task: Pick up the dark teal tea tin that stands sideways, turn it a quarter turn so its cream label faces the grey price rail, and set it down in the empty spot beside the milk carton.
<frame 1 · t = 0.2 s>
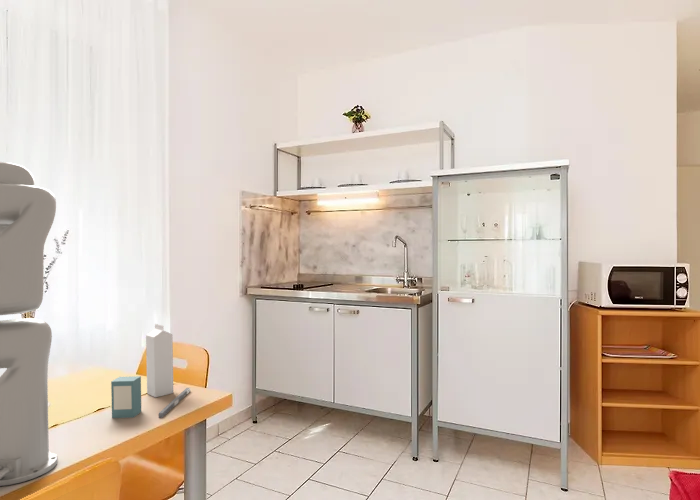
hand: (4, 304, 126), 31 cm above the table, tool pointing down, fingers open, 9 cm apart
price rail: (175, 403, 131), on the table
milk: (160, 393, 141), on the table
tea tin: (126, 414, 123), on the table
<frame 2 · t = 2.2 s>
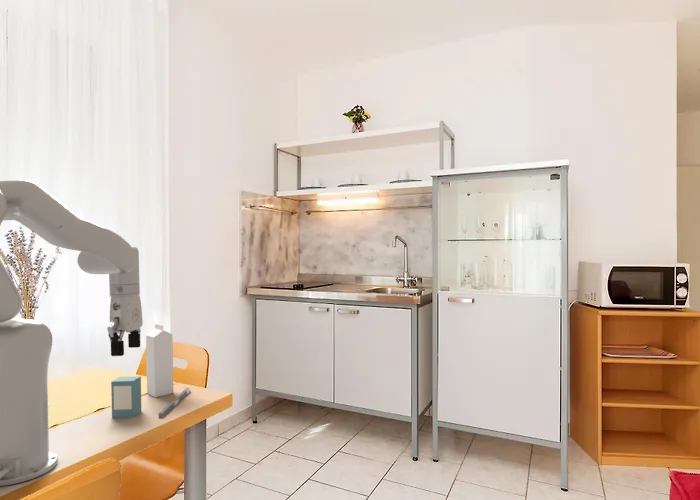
hand: (126, 351, 123), 18 cm above the table, tool pointing down, fingers open, 9 cm apart
nothing on the table moved.
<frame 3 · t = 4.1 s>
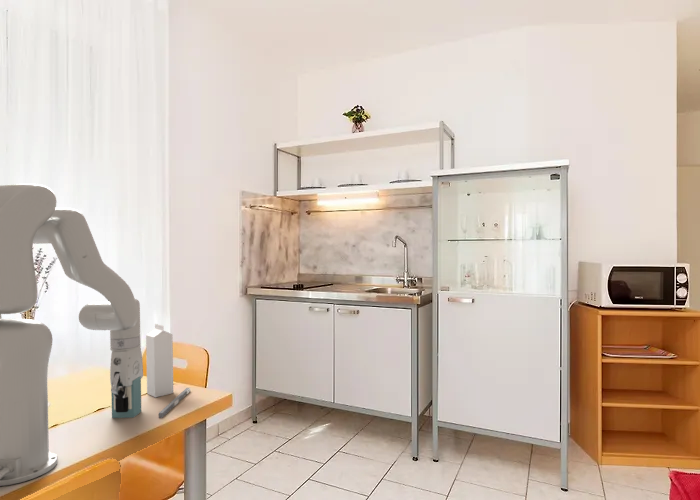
hand: (126, 407, 123), 2 cm above the table, tool pointing down, fingers closed on tea tin, 4 cm apart
tea tin: (126, 414, 123), on the table, touching gripper
everything else where it was.
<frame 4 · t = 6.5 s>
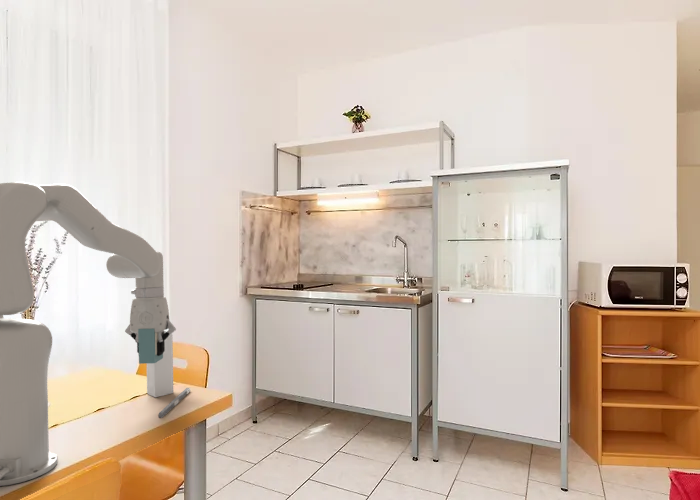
hand: (151, 354, 130), 15 cm above the table, tool pointing down, fingers closed on tea tin, 4 cm apart
tea tin: (151, 360, 130), point 13 cm above the table, touching gripper
everything else where it was.
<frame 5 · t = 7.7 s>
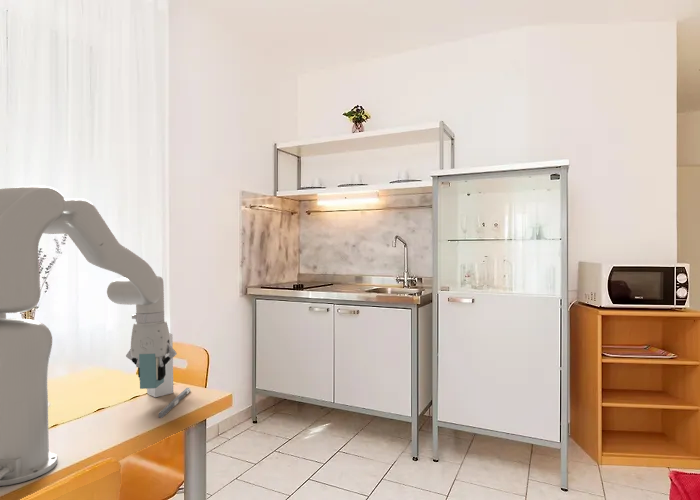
hand: (152, 378, 130), 8 cm above the table, tool pointing down, fingers closed on tea tin, 4 cm apart
tea tin: (152, 385, 130), point 6 cm above the table, touching gripper
everything else where it was.
when the fingers open (4 cm above the table, at t = 8.8 s): tea tin drops 2 cm, on the table.
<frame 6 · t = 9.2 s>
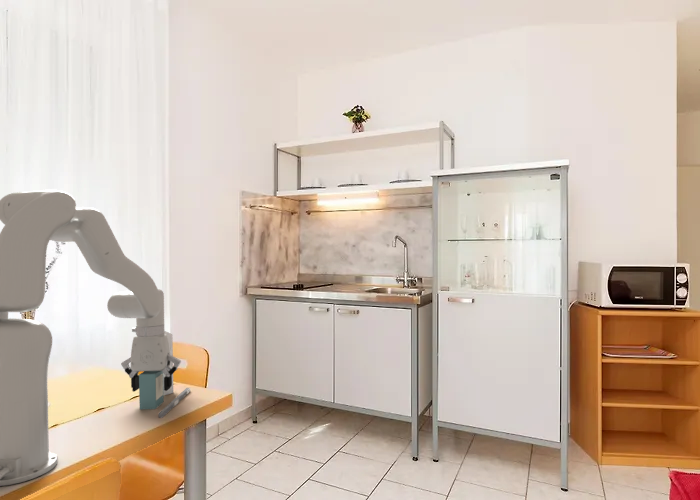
hand: (151, 389, 130), 5 cm above the table, tool pointing down, fingers open, 8 cm apart
tea tin: (151, 405, 130), on the table
everything else where it was.
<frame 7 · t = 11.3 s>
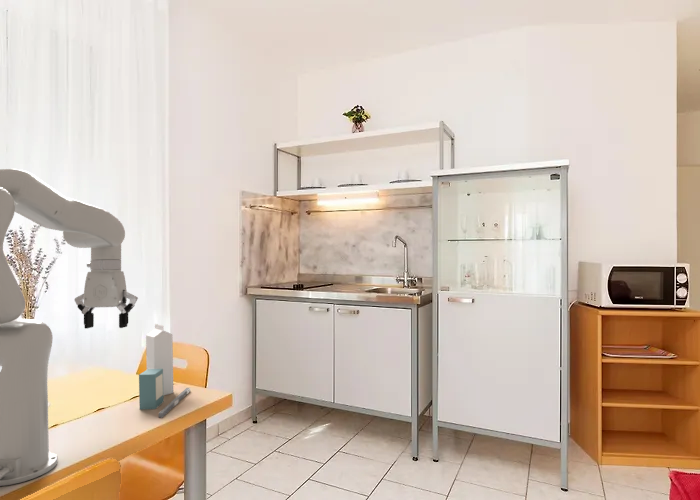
hand: (106, 327, 124), 24 cm above the table, tool pointing down, fingers open, 9 cm apart
nothing on the table moved.
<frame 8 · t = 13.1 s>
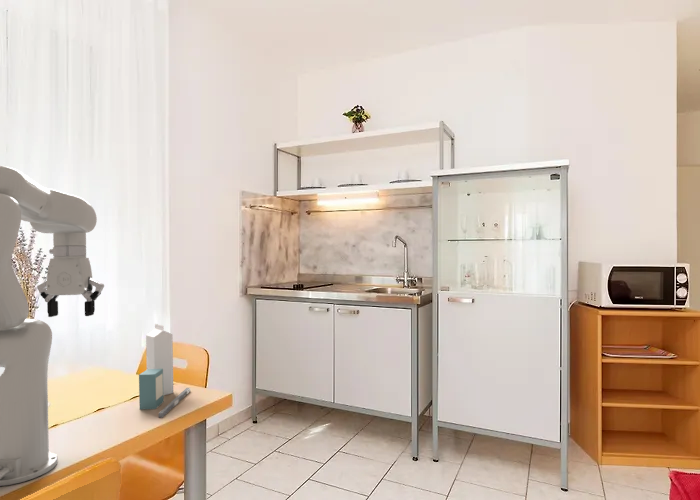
hand: (71, 315, 120), 28 cm above the table, tool pointing down, fingers open, 9 cm apart
nothing on the table moved.
at the end: tea tin inside the target area (0.1 cm from its centre), on the table; tea tin tilted 0°; the gripper is holding nothing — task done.
